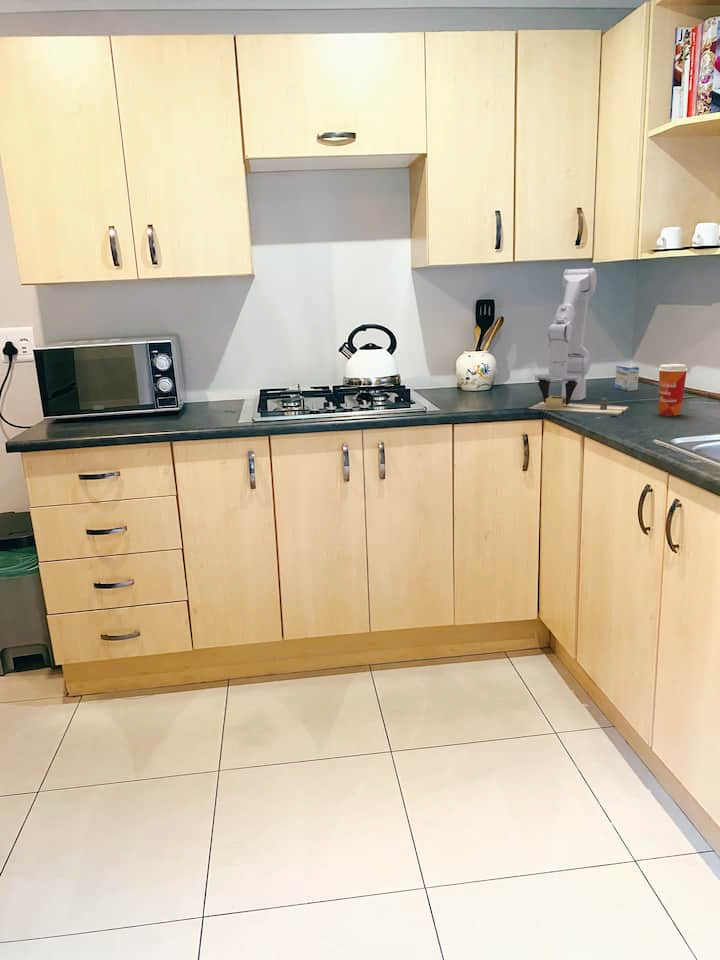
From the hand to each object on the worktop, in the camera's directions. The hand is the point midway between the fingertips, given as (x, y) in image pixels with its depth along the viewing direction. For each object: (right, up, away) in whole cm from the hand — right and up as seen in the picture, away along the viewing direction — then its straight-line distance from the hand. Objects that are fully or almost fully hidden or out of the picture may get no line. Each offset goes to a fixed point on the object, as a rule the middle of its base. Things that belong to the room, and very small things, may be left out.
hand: (556, 403), depth 234 cm
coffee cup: (+30, -5, -15) cm, 34 cm away
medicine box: (+36, +9, +36) cm, 52 cm away
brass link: (0, -1, 0) cm, 1 cm away
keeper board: (+6, -3, -3) cm, 7 cm away
